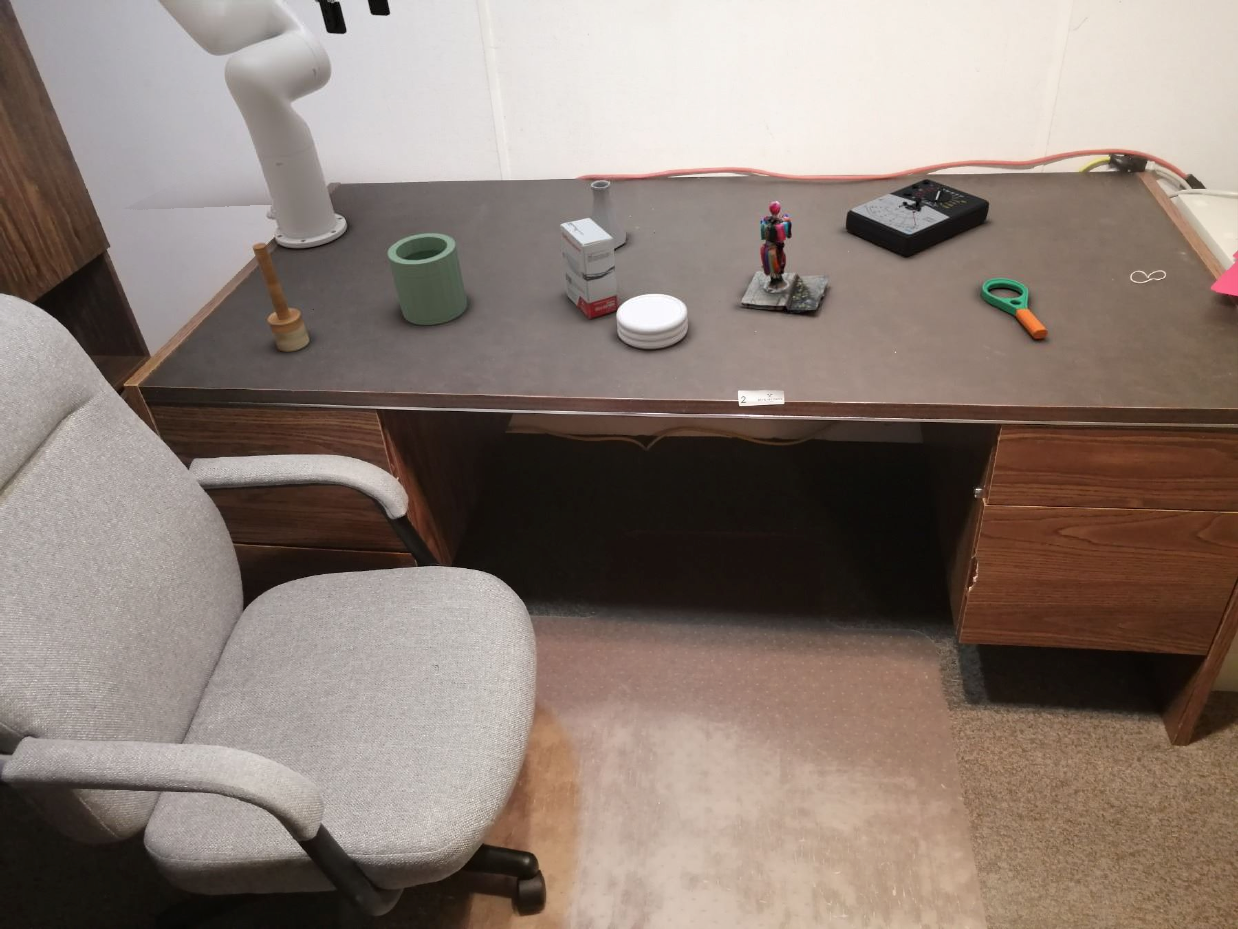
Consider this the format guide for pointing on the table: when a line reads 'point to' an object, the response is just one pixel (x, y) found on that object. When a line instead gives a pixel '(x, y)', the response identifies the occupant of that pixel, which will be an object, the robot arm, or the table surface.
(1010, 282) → the magnifying glass
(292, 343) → the wooden stamp
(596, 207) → the flask
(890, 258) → the table surface
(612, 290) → the ink box
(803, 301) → the statue
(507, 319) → the table surface
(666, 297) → the white round disc stack
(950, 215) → the multimeter
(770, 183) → the table surface
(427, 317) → the jar
